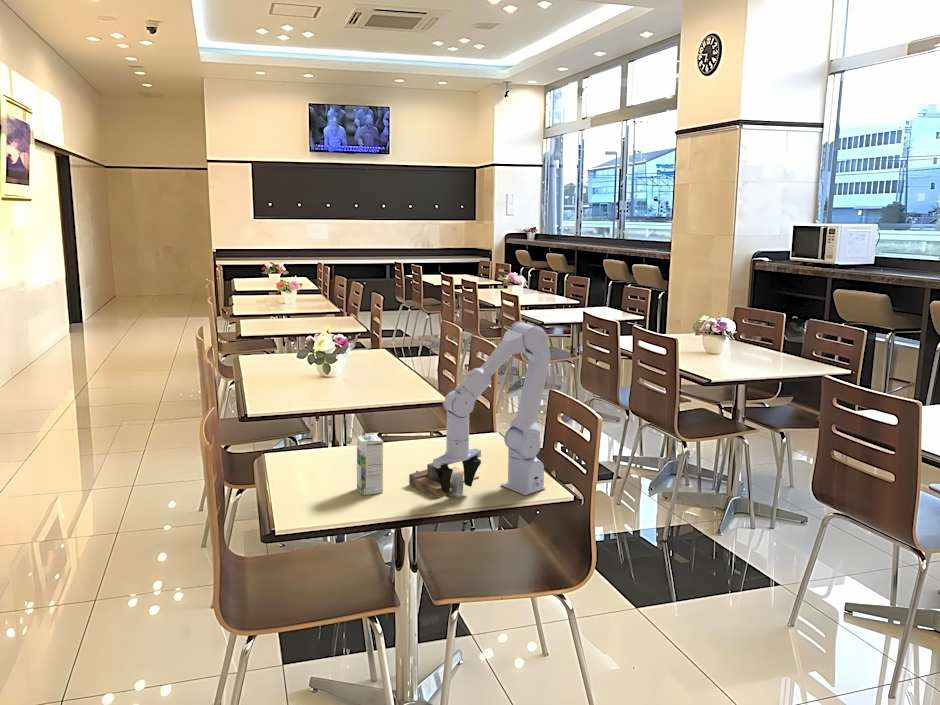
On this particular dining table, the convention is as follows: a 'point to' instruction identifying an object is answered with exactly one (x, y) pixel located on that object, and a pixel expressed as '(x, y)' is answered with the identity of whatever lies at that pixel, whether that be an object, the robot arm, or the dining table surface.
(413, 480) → the vise
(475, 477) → the cork mat
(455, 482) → the grey l-shaped block
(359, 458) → the drink carton
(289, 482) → the dining table surface
